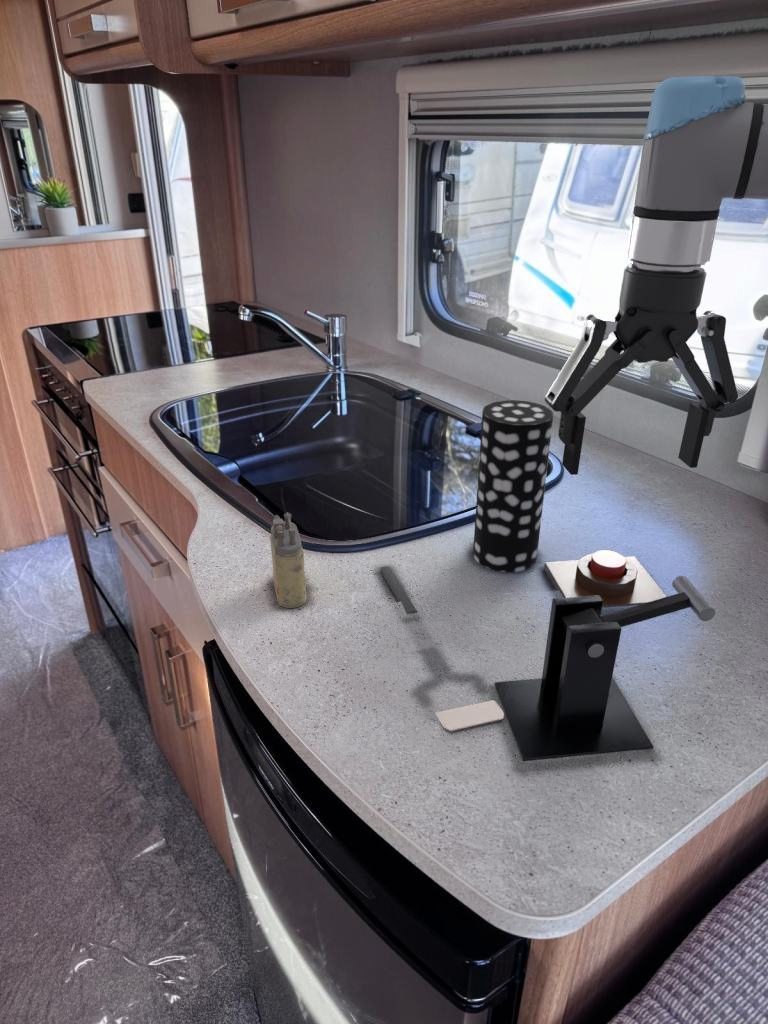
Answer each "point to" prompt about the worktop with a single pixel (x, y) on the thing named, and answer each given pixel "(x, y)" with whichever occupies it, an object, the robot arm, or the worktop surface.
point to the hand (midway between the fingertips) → (629, 466)
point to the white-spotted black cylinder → (511, 484)
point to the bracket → (573, 693)
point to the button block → (604, 582)
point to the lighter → (288, 563)
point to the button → (608, 564)
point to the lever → (649, 608)
